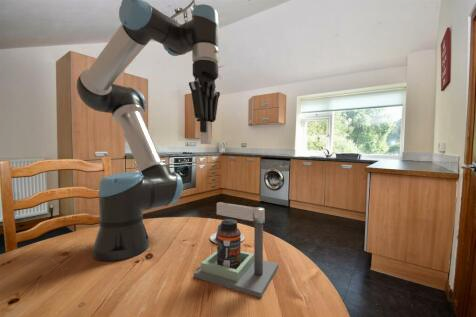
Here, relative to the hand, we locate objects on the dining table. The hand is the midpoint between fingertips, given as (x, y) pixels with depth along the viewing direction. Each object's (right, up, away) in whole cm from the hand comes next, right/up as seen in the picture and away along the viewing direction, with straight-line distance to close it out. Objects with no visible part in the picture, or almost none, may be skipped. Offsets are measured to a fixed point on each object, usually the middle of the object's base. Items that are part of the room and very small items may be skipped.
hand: (205, 143), depth 64 cm
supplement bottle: (+7, -32, -9) cm, 34 cm away
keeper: (+10, -19, -10) cm, 24 cm away
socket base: (+10, -33, -11) cm, 36 cm away
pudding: (+6, -33, +11) cm, 35 cm away
